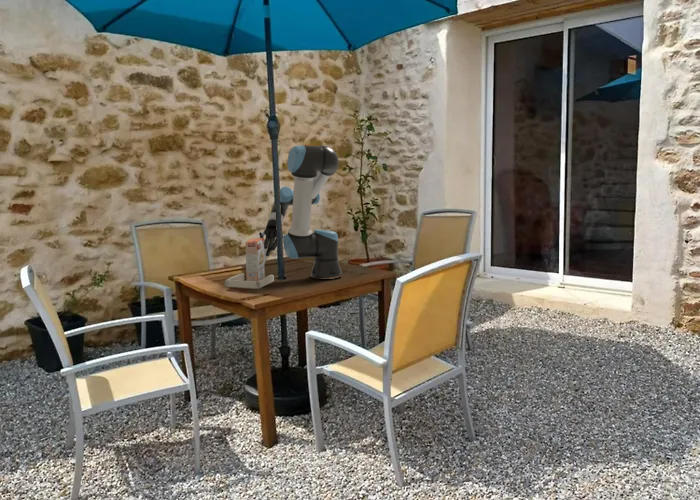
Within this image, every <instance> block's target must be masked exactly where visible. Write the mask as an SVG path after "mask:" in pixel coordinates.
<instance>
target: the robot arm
mask: <svg viewBox="0 0 700 500" xmlns="http://www.w3.org/2000/svg"><path fill="white" fill-rule="evenodd" d="M339 165H340V160H339V156H338V154H337V153H336V151H335V150H334V149H333V148H331V147H329V146H328V145H303V144H302V145H295V146H293V147H292V148H291V149H290V150H289V152H288V156H287V169H288V171H289V172H290V174H291V176H292V178H293V179H294V180H293V183H294V184H293V189H292V187H288V186H283V187H281V188H280V189H279V190H280V205H281V226H282V227H283V223H284V220H285V218H286V217H285V216H286V213H287V210H288V209H289V206H292V210H291V211H292V213H291V215H292V216H291V227H289V228H288V229H287V234H284V235H283V233H282V241H283V248H284V252H285V255H286V256H287V257H288V258H289V259H291V260H292V259H293V260H294V259H297V260H298V259H306V258H314V263H313V265H312V270H311V273H310V277H314V278H329V277H335V276H339V275H341V274H342V275H343V273H342V272H343V271H342V269H341V265H340V264H339V263H340V262H339V235H338V233H337V232H336V231H333V230H327V229H326V230H325V229H314V230H312V229H311V216H312V215H311V214H312V205H317V204H318V203H319V202H320V199H321V197H320V195H321V194H320V192H321V191H322V189H323V187H324V186H325V185H326V183H327V182H328V180H329V178H330V177H331V176H334V175H335V174H336V172H337V171H338V168H339ZM267 219H268V220H267V223H266V226H265V229H264V231H262V232H259V233H258V236H259V238H264V264H265V263H266V261H267V258H268V257H270V253H271V252H273V251H275V250H276V248H277V247H278V245H277V230H276V209H275V200H274V201H273V204H272V207H271V211H270V214H269V216H268V218H267Z"/></svg>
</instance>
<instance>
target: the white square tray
mask: <svg viewBox="0 0 700 500" xmlns="http://www.w3.org/2000/svg"><path fill="white" fill-rule="evenodd" d="M264 277H265V278H263V279H261V280H259V281H246V280H245V273H243V272H242V273H238V274H236V275H234V276H231V277H229V278H227V279H225V280H224V287H226V288H240V289H241V288H243V289H257V290H258V289H262V288H263V287H264V286H267V285H269V284H271V283H273V282H274V281H275V276H274V274H269V275H267V276H264Z"/></svg>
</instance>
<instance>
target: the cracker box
mask: <svg viewBox="0 0 700 500" xmlns="http://www.w3.org/2000/svg"><path fill="white" fill-rule="evenodd" d="M264 242H265V237H263V238H260V237H253V238H250V239H249V240H247V241H245V272H246V273H245V274H246V276H245V277H246V280H245V281H259V280H261V279H263V278H265V277H266V276H265V263H264Z"/></svg>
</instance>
